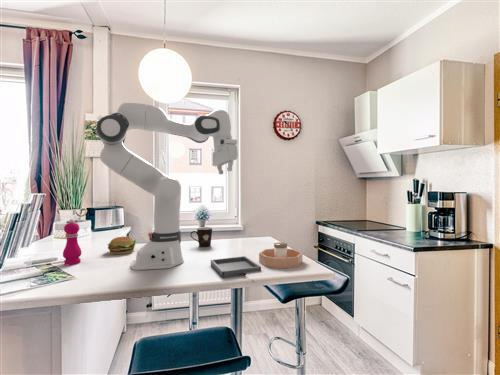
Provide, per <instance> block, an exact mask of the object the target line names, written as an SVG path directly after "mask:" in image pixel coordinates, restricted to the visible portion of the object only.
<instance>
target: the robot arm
mask: <svg viewBox="0 0 500 375" xmlns="http://www.w3.org/2000/svg"><path fill="white" fill-rule="evenodd" d="M231 125H232V124H231V119H230V115H229V113H228V112H227V111H225V110H223V109H215V110H213V111H212V112H210V113H209V114H205V115H204V114H203V115H200V116H198V117H197V118H196V119H195V120H194V122H193V123H189V124H187V123H183V122H179V121H175V120H173V119H171V118H170V117H169V116H168V114H166V112H165V111H164V110H163V109H162V108H160V107H158V106H155V105H150V104H147V103H140V102H139V103H137V102H123V103H121V104H120V105H119V107H118V108H117V112H114V113H111V114H109V115H104V116H103V117H101V118H100V119H98V121H97V123H96V126H95V128H96V132H97V136H98V137H99V140H100V141H101V142H102V144H103V145H104V146H103V148H102V149H101V151H100V155H99V157H100V158H99V159H100V161H101V162H102V163H103V164H104V165H105V166H106V167H108V168H109V169H110V170H111V171H113V172H114V173H116V174H118V176H121V177H122V178H123V179H125V180H127V181H129V182H130V183H131V184H134V185H136V186H137V187H139V188H141V190H144V191H145V192H147V193H149V194H150V195H153V197H154V203H153V204H154V207H153V208H154V211H153V220H154V221H153V232H152V231H150V232H148V233H147V236H148V237H149V238H148V239H149V241H148V242H146V243H145V244H144V245H143V246H142V247H140V248H138V249H139V250H138V251H137V253H136V255H135V256H136V257H135V260H133V261H131V263H130V268H131V269H132V270H134V271H144V270H161V269H172V268H174V267H176V266H178V265H181V264H183V263H184V257H183V254H182V248H181V243H182V242H181V241H182V233H181V230H180V229H181V228H180V226H181V225H180V224H181V223H180V212H181V208H180V207H181V199H182V197H181V196H182V186H181V183H180V181H178V179H177V178H176V177H173V176H168V175H167V174H165V173H164V172H162V171H161V170H160V169H158V168H157V167H155V166H154V165H153V164H151V163H149V162H148V161H147V160H145V159H143V158H142V157H140V156H139V155H138V154H136V153H134V152H133V151H131V150H129V149H128V148H127V147H126V146H125V145H124V144H125V140H126V136H127V132H129V130H141V131H143V130H144V131H149V132H157V133H158V132H159V133H162V134H163V133H165V134H169V135H175V136H178V137H184V138H187V139H189V140H191V141H193V142H195V143H196V144H197V143H198V144H203V143H205V142H207V141H208V140H209V138H210V137H212V138H213V149H214V151H212V167H216V169H217V171H218V175H223V174H224V170H223V169H222V168H223V165H226V164H227V168H226V169H227V170H226V171H227V172H232V171H233V165H234V161H237V159H238V140H237V139H233V138H232V137H233V136H232V134H231V131H232V127H231Z"/></svg>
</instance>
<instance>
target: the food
mask: <svg viewBox="0 0 500 375" xmlns="http://www.w3.org/2000/svg"><path fill="white" fill-rule="evenodd" d="M136 242H137V241H136V239H134V240H133V238H131V237H129V236H118V237H114V238H112V239H111V240H110V242H109V243H108V244H107V246H108V247H107V249H108V250H109V253H110V254H111V255H126V254H130V253H133V252H134V251H135V247H136Z"/></svg>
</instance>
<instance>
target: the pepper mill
mask: <svg viewBox="0 0 500 375" xmlns="http://www.w3.org/2000/svg"><path fill="white" fill-rule="evenodd" d="M63 231H64V232H65V238H66V242H65V247H64V249H63V251H62V257H63V258H64V261H63V263H64V265H65V266H74V265H78V264H81V258H80V257H81V255H82V248H81V247H80V245H79V243H78V237H79V233H78V232H79V231H80V225H79V224H78V223H76V222H75V220H74V219H73V218H71V219H69V221H68V223H67V224H65V225H64V228H63Z"/></svg>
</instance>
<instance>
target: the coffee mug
mask: <svg viewBox="0 0 500 375" xmlns="http://www.w3.org/2000/svg"><path fill="white" fill-rule="evenodd" d="M193 233H195V234H196V235H197V239H196V238H194V237H193V236H192V234H193ZM212 234H213V227H210V226H202V227H201V226H200V227H198V228H196V231H195V230H193V231H191V232H190V234H189V235H190V237H191V238H192V239H193V240H194V241H196V242H198V245H199V248H210V247H211V244H212V243H211V242H212V236H213V235H212Z"/></svg>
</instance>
